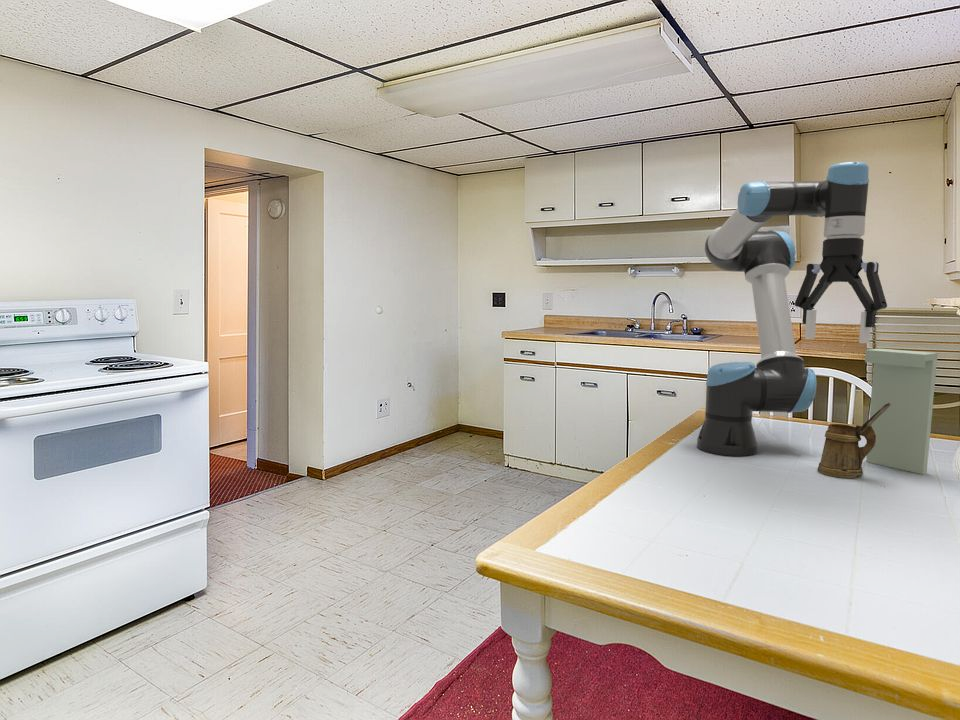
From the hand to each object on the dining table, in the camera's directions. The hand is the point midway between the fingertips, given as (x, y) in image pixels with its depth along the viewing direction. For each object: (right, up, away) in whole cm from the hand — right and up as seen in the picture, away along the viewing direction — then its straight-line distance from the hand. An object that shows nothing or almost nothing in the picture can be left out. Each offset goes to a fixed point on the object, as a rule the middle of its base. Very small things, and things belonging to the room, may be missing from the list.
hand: (835, 340), depth 134 cm
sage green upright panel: (+22, -30, +15) cm, 40 cm away
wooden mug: (+9, -31, +10) cm, 34 cm away
